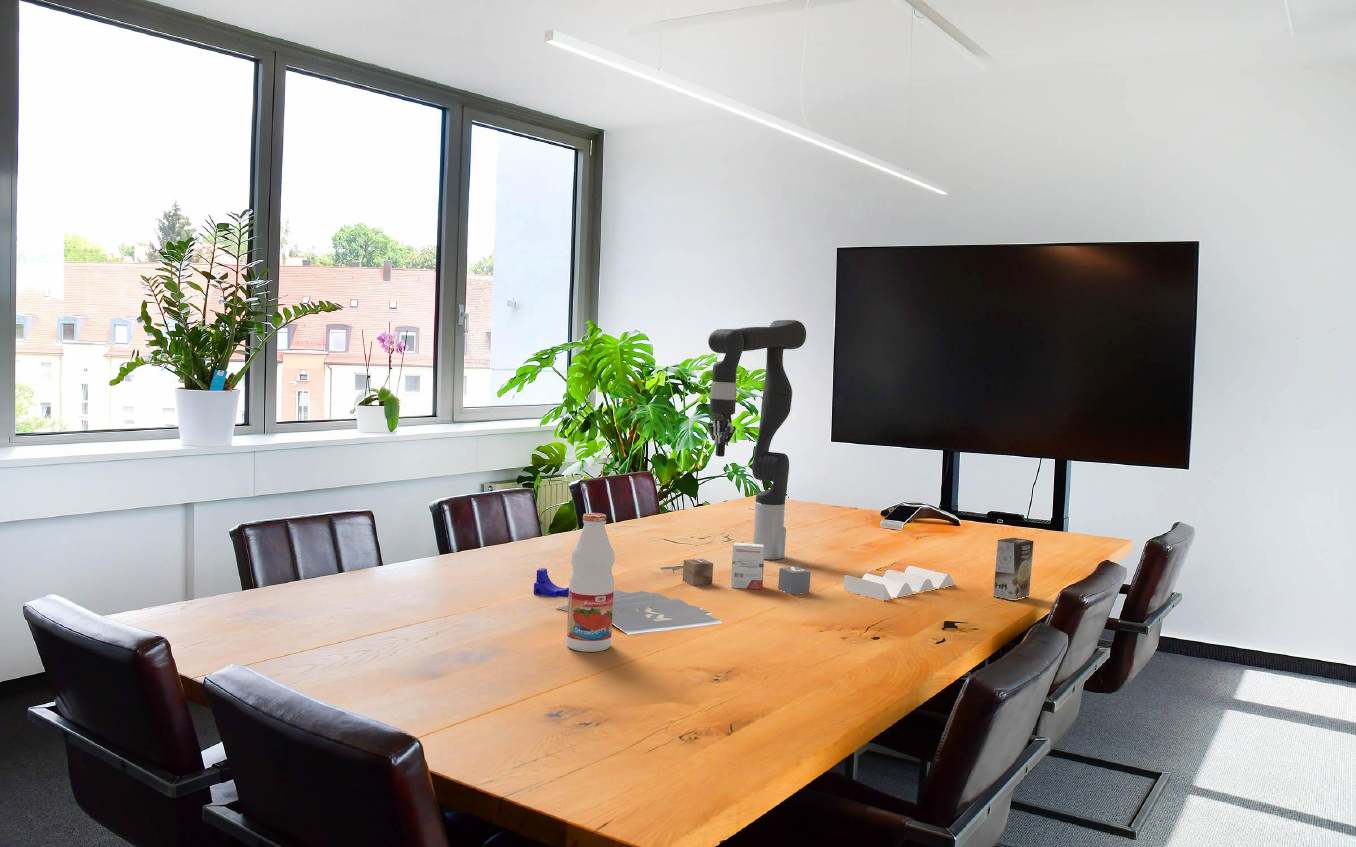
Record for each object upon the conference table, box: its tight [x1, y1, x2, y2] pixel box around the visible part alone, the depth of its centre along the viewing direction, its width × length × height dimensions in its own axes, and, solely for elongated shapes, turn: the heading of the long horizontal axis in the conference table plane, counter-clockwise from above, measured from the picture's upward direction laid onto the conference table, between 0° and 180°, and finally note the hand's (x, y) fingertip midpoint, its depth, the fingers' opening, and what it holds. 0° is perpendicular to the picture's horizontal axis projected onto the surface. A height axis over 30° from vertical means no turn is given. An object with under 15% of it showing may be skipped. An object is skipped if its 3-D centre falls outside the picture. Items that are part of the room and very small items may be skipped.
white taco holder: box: [843, 565, 956, 600], centre depth 278 cm, size 13×35×5 cm, turn 132°
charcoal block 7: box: [777, 566, 811, 595], centre depth 267 cm, size 6×6×6 cm
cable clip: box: [533, 567, 569, 598], centre depth 250 cm, size 12×4×6 cm, turn 75°
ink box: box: [730, 542, 765, 591], centre depth 269 cm, size 9×5×12 cm, turn 84°
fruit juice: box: [566, 512, 616, 653], centre depth 207 cm, size 9×9×28 cm
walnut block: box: [682, 558, 714, 587], centre depth 271 cm, size 6×6×6 cm
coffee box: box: [992, 537, 1035, 599], centre depth 273 cm, size 9×6×16 cm
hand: (719, 456), depth 291 cm, fingers closed
